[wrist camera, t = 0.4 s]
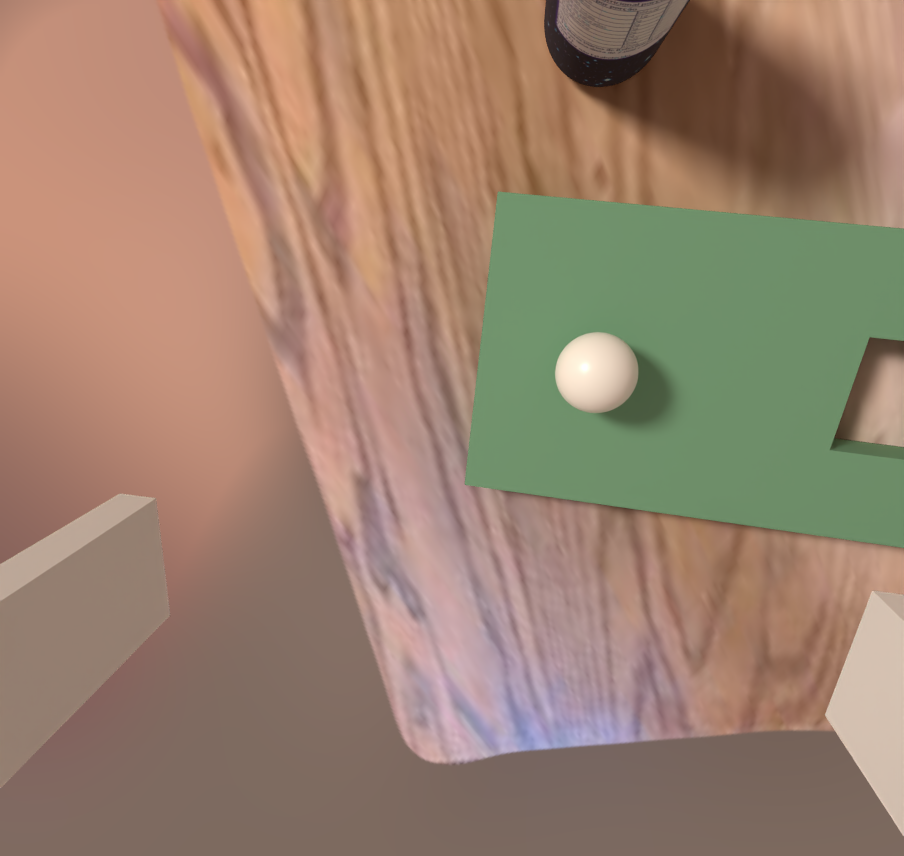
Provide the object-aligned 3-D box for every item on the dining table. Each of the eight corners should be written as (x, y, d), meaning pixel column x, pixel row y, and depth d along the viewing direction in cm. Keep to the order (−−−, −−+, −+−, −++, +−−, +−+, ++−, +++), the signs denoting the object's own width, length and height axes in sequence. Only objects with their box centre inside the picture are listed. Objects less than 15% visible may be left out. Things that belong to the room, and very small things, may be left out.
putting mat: (500, 196, 29) (497, 191, 26) (1069, 248, 26) (1123, 248, 24) (468, 468, 34) (464, 484, 31) (940, 534, 31) (973, 557, 29)
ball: (559, 322, 28) (565, 334, 24) (637, 331, 27) (655, 344, 24) (547, 396, 29) (551, 417, 25) (621, 405, 29) (636, 428, 25)
